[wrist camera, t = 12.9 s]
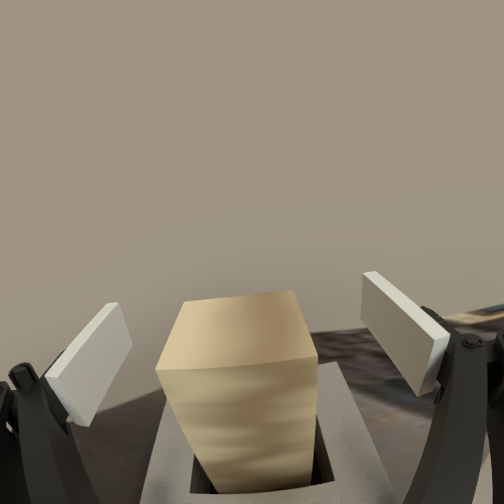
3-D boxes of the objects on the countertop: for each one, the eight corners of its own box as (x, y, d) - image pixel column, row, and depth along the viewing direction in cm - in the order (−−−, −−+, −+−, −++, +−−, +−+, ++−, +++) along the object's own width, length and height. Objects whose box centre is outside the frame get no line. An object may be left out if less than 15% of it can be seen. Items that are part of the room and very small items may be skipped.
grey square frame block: (164, 541, 8) (135, 524, 7) (186, 413, 19) (172, 379, 18) (378, 522, 8) (398, 502, 7) (333, 397, 19) (336, 361, 18)
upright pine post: (225, 503, 11) (155, 369, 8) (227, 446, 16) (184, 301, 12) (309, 497, 11) (317, 355, 8) (298, 440, 16) (292, 289, 12)
